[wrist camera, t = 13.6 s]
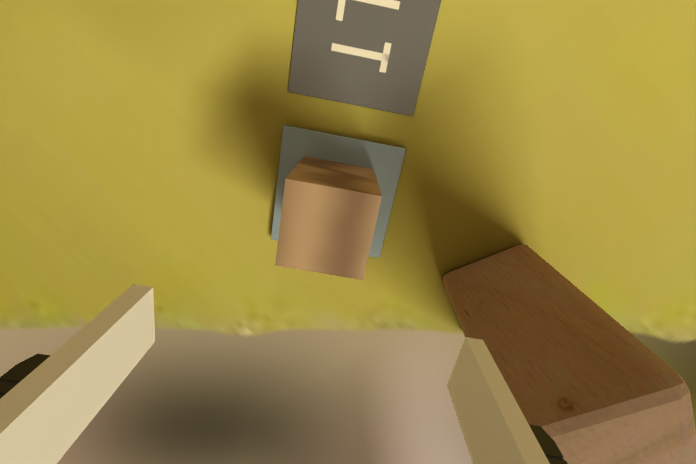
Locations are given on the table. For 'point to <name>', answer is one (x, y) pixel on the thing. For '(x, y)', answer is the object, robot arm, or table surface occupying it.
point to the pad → (344, 151)
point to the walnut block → (328, 217)
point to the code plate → (363, 51)
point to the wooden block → (573, 364)
